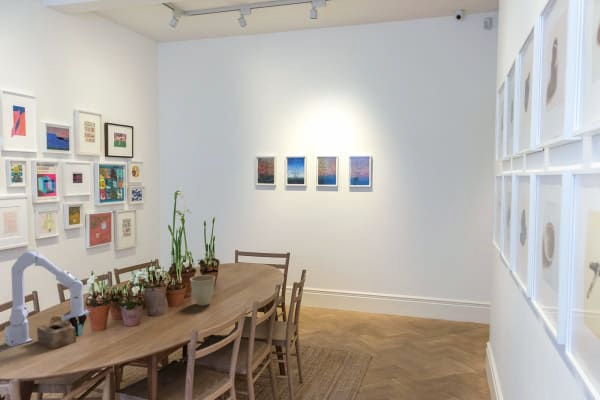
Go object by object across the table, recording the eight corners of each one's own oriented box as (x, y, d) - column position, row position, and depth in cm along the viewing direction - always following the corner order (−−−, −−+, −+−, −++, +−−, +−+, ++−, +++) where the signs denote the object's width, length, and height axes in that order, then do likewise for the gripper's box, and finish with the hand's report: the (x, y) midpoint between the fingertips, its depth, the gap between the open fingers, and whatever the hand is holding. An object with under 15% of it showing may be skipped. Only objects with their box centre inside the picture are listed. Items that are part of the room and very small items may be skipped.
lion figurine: (78, 323, 237) (77, 306, 237) (78, 325, 233) (78, 309, 232) (47, 328, 230) (46, 311, 230) (46, 331, 226) (45, 314, 225)
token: (78, 335, 219) (78, 325, 218) (74, 333, 222) (73, 323, 221) (82, 334, 220) (82, 324, 220) (78, 332, 223) (77, 322, 223)
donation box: (51, 348, 202) (50, 334, 201) (37, 341, 212) (37, 326, 212) (75, 341, 210) (75, 327, 210) (61, 334, 221) (61, 320, 220)
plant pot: (186, 306, 263) (185, 280, 262) (197, 299, 278) (197, 274, 277) (209, 308, 260) (208, 281, 259) (219, 300, 274) (219, 275, 273)
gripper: (65, 309, 212) (66, 337, 213) (95, 302, 223) (96, 328, 224) (59, 306, 216) (60, 333, 217) (88, 300, 228) (89, 325, 228)
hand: (78, 331), depth 221 cm, fingers closed on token, 2 cm apart
